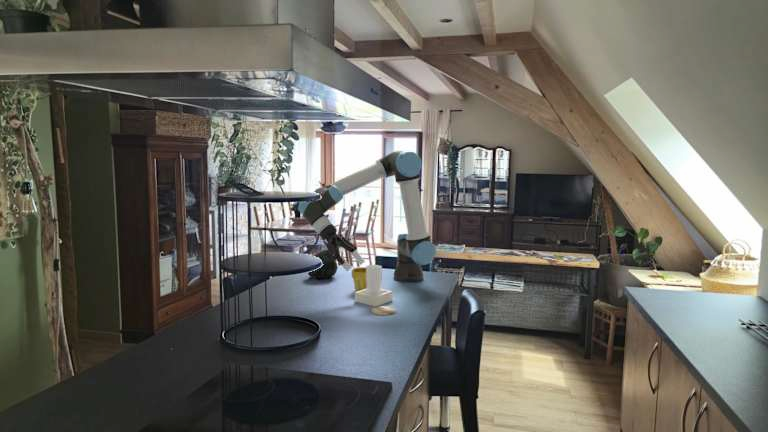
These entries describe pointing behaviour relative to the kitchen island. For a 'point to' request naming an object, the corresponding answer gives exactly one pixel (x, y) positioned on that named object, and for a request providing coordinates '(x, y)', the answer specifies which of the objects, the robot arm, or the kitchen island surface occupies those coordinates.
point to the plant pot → (359, 278)
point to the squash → (325, 266)
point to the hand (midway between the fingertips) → (356, 266)
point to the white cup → (373, 279)
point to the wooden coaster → (383, 310)
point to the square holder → (373, 297)
